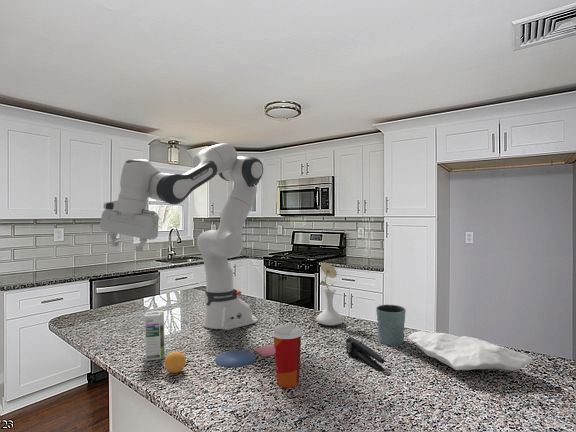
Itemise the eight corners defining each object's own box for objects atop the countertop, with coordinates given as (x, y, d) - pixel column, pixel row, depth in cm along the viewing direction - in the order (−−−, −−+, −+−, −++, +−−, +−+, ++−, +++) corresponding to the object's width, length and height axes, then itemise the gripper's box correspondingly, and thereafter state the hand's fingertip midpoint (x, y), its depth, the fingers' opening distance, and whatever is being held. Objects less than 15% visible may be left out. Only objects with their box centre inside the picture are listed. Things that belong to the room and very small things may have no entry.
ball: (183, 366, 114) (182, 346, 114) (188, 373, 109) (188, 353, 109) (162, 370, 111) (162, 350, 111) (167, 378, 106) (166, 357, 106)
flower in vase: (349, 325, 151) (348, 264, 151) (324, 329, 147) (323, 266, 146) (333, 317, 163) (333, 260, 163) (310, 320, 159) (309, 261, 159)
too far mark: (274, 344, 131) (274, 344, 131) (285, 352, 124) (285, 351, 124) (253, 349, 127) (253, 348, 127) (263, 357, 120) (263, 356, 120)
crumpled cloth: (524, 396, 91) (525, 357, 92) (389, 359, 114) (391, 328, 114) (536, 376, 109) (537, 345, 110) (417, 348, 132) (419, 322, 132)
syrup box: (145, 361, 118) (144, 316, 118) (146, 354, 124) (146, 311, 124) (164, 359, 120) (163, 314, 119) (165, 352, 125) (164, 309, 125)
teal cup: (400, 336, 138) (400, 304, 138) (410, 346, 128) (410, 311, 128) (373, 337, 138) (372, 304, 138) (380, 347, 128) (380, 312, 127)
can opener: (340, 352, 124) (340, 336, 124) (358, 349, 127) (358, 333, 127) (372, 374, 108) (372, 355, 107) (392, 370, 110) (392, 351, 110)
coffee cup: (285, 373, 109) (285, 322, 108) (308, 381, 103) (308, 327, 103) (266, 384, 102) (265, 329, 102) (289, 393, 97) (288, 335, 96)
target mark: (246, 347, 129) (246, 347, 129) (262, 361, 117) (262, 360, 117) (209, 355, 122) (209, 355, 122) (223, 370, 111) (223, 369, 111)
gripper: (164, 212, 124) (159, 253, 125) (113, 203, 129) (108, 242, 130) (153, 212, 118) (147, 255, 118) (99, 202, 123) (94, 244, 124)
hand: (126, 248), depth 124 cm, fingers open, 8 cm apart
